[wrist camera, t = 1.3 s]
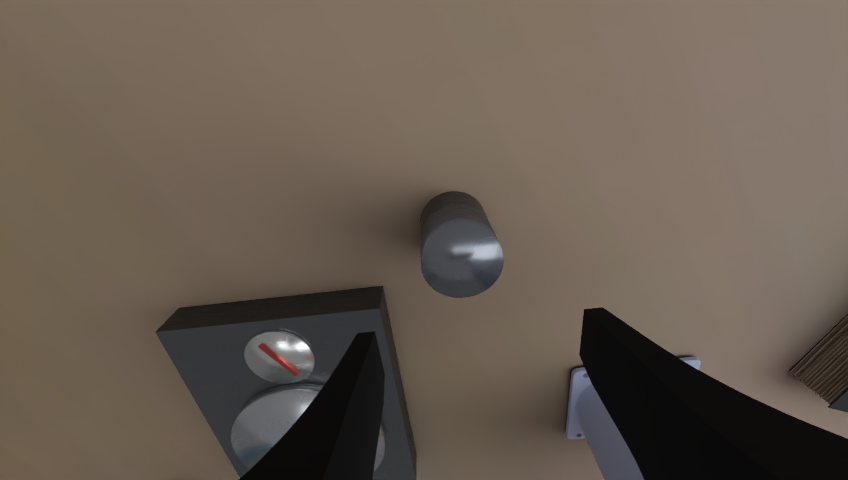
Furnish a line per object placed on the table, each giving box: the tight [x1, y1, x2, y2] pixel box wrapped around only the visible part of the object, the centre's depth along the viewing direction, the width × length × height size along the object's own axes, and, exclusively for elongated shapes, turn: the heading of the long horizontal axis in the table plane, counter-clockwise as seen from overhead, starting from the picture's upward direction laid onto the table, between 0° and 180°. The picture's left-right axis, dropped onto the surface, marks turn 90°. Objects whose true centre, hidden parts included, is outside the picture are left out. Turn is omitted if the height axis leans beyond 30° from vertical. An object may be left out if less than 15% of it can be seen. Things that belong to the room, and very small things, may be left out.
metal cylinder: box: [420, 191, 504, 298], centre depth 19 cm, size 4×4×5 cm
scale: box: [156, 286, 416, 480], centre depth 26 cm, size 14×18×3 cm
